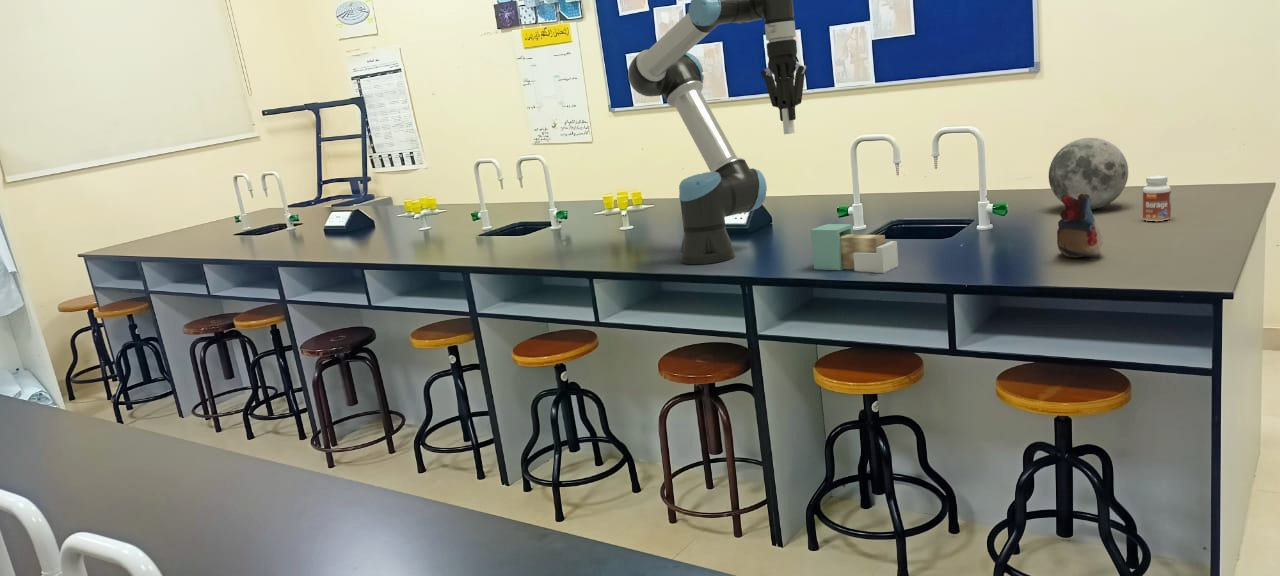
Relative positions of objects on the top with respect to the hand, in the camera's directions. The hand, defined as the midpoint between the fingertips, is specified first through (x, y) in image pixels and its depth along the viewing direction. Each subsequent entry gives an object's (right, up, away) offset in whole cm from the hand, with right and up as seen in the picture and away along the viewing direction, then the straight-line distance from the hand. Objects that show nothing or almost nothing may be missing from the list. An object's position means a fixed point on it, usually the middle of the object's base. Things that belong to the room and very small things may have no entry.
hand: (789, 133), depth 238 cm
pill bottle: (+92, -23, -5) cm, 95 cm away
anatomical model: (+60, -33, -33) cm, 76 cm away
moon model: (+88, -18, +20) cm, 92 cm away
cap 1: (+9, -35, -12) cm, 38 cm away
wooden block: (+14, -35, -16) cm, 41 cm away
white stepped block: (+17, -36, -20) cm, 44 cm away
